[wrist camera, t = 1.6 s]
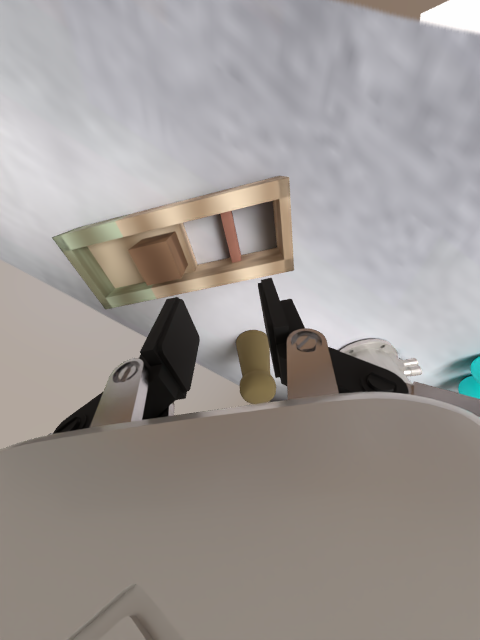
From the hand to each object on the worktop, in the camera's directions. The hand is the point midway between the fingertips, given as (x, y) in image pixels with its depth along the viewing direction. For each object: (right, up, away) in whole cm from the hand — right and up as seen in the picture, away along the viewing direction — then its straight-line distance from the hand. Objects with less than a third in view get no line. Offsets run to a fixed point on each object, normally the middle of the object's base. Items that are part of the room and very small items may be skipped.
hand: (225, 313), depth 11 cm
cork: (+3, -4, +25) cm, 26 cm away
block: (-8, +8, +13) cm, 17 cm away
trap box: (-6, +9, +14) cm, 18 cm away
